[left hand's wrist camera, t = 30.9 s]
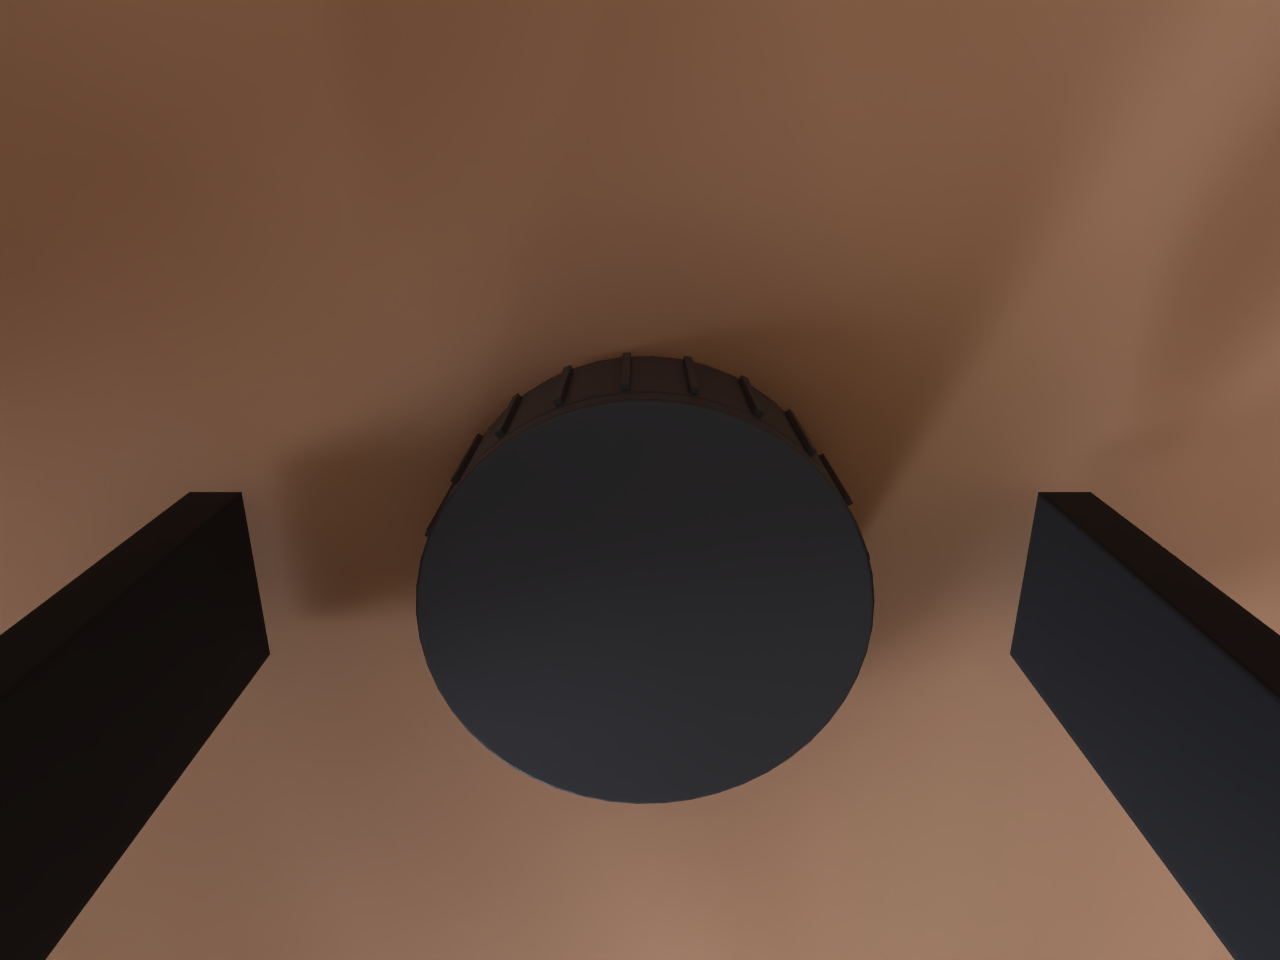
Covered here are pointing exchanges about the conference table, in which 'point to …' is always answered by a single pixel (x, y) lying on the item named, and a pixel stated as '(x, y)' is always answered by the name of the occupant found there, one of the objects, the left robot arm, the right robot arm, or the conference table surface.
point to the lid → (644, 584)
